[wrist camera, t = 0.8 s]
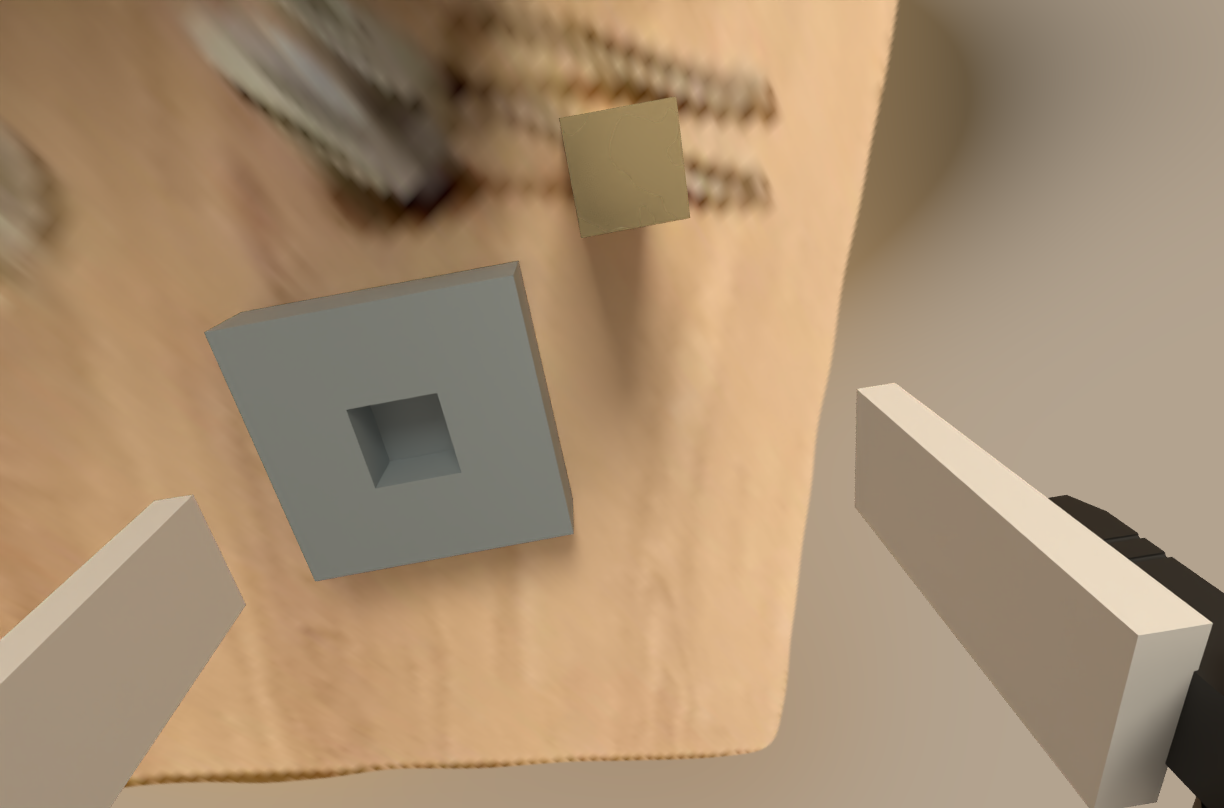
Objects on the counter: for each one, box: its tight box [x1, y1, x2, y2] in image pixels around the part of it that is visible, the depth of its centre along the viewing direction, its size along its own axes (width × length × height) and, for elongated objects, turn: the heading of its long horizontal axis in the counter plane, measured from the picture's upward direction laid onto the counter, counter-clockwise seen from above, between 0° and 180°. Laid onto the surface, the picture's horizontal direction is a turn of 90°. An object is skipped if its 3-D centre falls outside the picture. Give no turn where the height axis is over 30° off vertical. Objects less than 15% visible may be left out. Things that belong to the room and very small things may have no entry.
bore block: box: [204, 261, 574, 581], centre depth 33 cm, size 14×14×4 cm
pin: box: [559, 97, 690, 238], centre depth 24 cm, size 3×3×12 cm
